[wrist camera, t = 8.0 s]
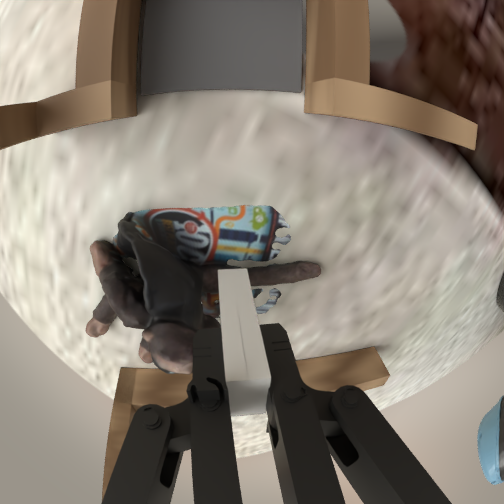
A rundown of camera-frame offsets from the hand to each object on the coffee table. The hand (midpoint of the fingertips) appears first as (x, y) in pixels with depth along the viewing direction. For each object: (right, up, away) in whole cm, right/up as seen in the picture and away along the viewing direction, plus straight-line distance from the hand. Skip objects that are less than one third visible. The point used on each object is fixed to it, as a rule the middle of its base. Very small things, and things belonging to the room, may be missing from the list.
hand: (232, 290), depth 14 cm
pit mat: (0, +12, -5) cm, 13 cm away
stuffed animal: (-3, 0, +2) cm, 4 cm away
